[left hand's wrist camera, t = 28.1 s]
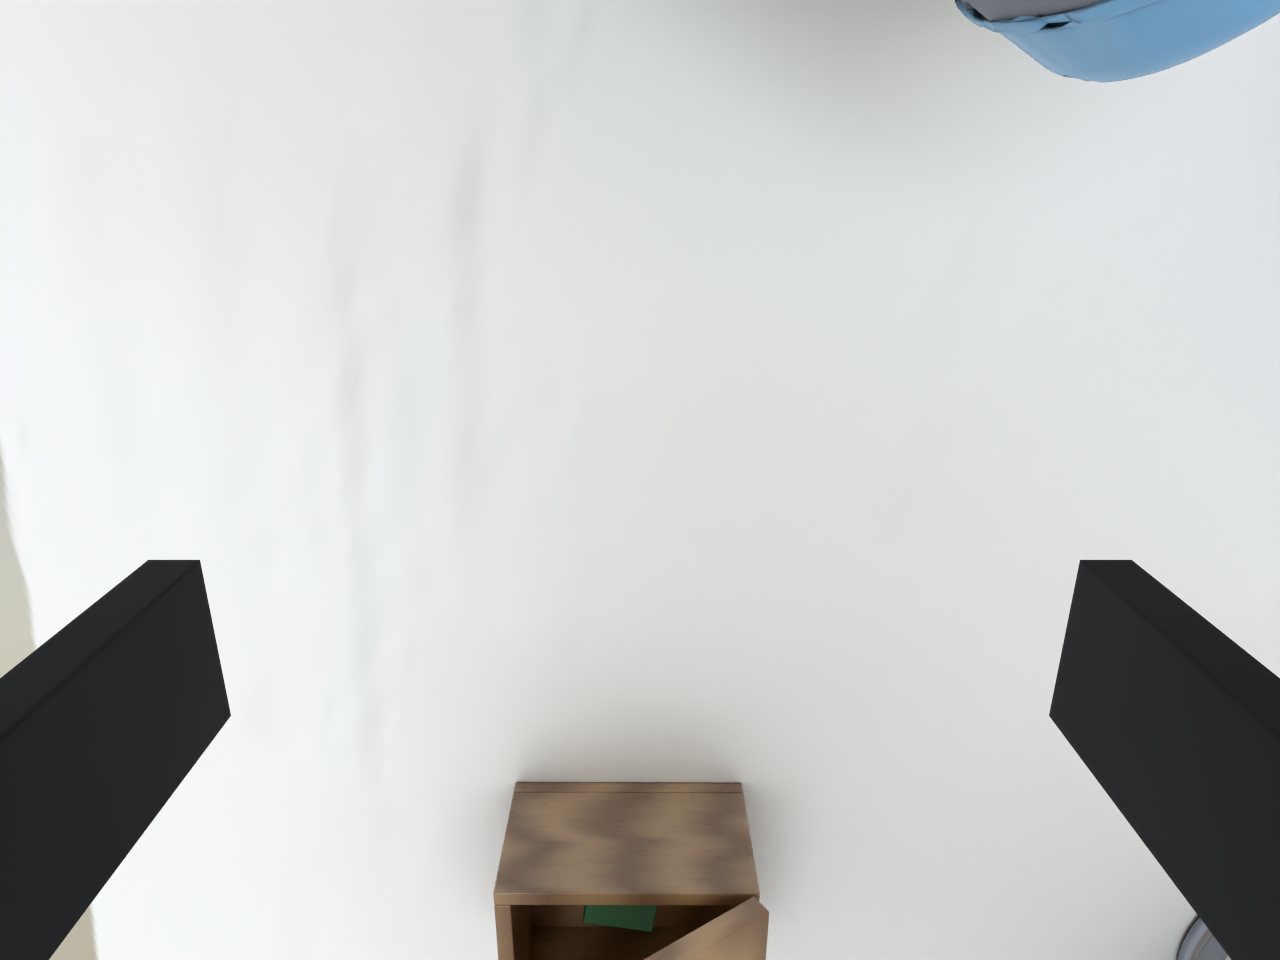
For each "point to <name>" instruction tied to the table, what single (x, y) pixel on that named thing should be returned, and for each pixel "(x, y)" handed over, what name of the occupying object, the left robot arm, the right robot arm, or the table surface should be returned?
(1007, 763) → the table surface
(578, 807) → the chest
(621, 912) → the block
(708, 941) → the lid
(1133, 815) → the left robot arm
